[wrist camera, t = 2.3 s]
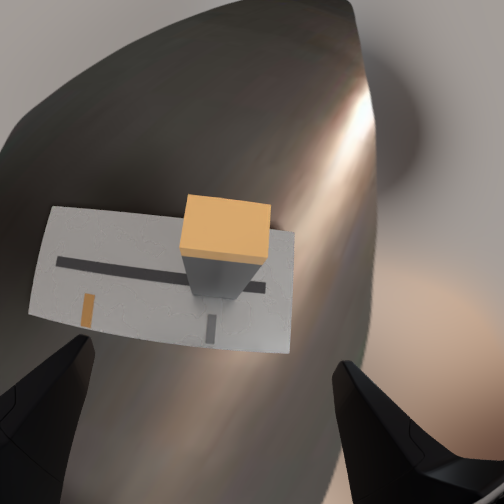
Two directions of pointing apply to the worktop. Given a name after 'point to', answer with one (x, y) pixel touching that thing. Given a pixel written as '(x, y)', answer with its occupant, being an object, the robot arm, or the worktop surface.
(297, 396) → the worktop surface
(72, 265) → the fader console
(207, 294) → the fader lever
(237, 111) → the worktop surface
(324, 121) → the worktop surface
